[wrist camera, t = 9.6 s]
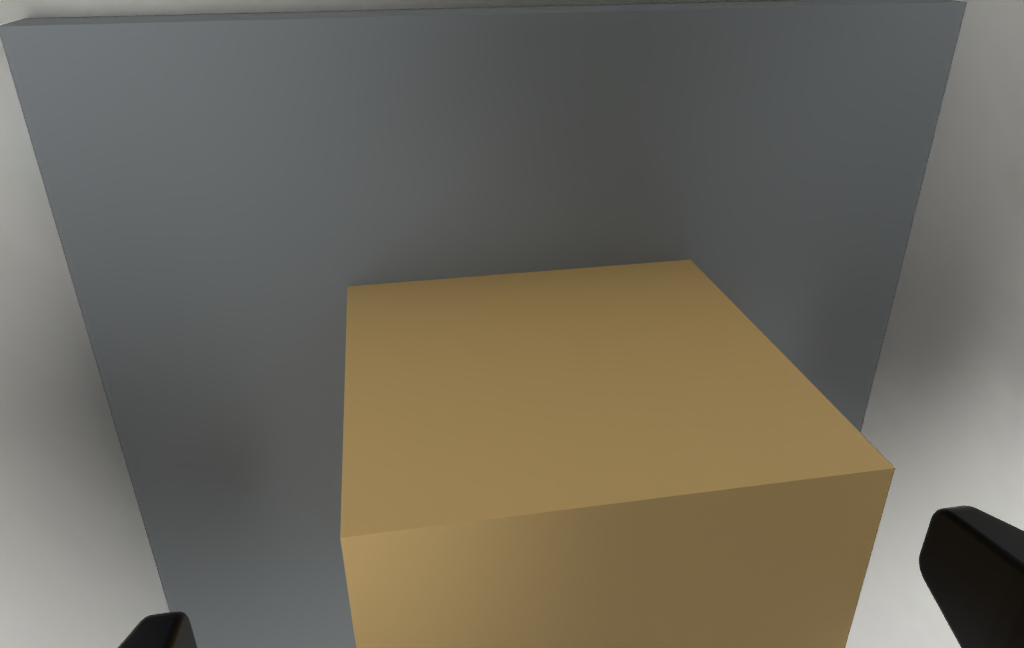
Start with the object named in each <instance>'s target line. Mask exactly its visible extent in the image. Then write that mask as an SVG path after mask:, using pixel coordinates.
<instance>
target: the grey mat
mask: <svg viewBox="0 0 1024 648" xmlns="http://www.w3.org/2000/svg"><path fill="white" fill-rule="evenodd" d="M966 3H967V2H961V1H953V0H787V1H745V2H703V3H661V4H619V5H576V6H534V7H492V8H450V9H408V10H366V11H323V12H281V13H239V14H197V15H155V16H113V17H70V18H28V19H22V20H18V21H15V22H11V23H8V24H5V25H1V26H0V37H1V40H2V44H3V47H4V50H5V54H6V57H7V61H8V64H9V67H10V71H11V74H12V77H13V81H14V84H15V88H16V91H17V94H18V98H19V101H20V105H21V108H22V111H23V115H24V118H25V122H26V125H27V128H28V132H29V135H30V139H31V142H32V145H33V149H34V152H35V156H36V159H37V162H38V166H39V169H40V173H41V176H42V179H43V183H44V186H45V190H46V193H47V196H48V200H49V203H50V206H51V210H52V213H53V217H54V220H55V223H56V227H57V230H58V234H59V237H60V240H61V244H62V247H63V251H64V254H65V257H66V261H67V264H68V268H69V271H70V274H71V278H72V281H73V285H74V288H75V291H76V295H77V298H78V302H79V305H80V308H81V312H82V315H83V319H84V322H85V325H86V329H87V332H88V335H89V339H90V342H91V346H92V349H93V352H94V356H95V359H96V363H97V366H98V369H99V373H100V376H101V380H102V383H103V386H104V390H105V393H106V397H107V400H108V403H109V407H110V410H111V414H112V417H113V420H114V424H115V427H116V431H117V434H118V437H119V441H120V444H121V448H122V451H123V454H124V458H125V461H126V464H127V468H128V471H129V475H130V478H131V481H132V485H133V488H134V492H135V495H136V498H137V502H138V505H139V509H140V512H141V515H142V519H143V522H144V526H145V529H146V532H147V536H148V539H149V543H150V546H151V549H152V553H153V556H154V560H155V563H156V566H157V570H158V573H159V577H160V580H161V583H162V587H163V590H164V593H165V597H166V600H167V604H168V607H169V610H170V612H178V611H180V612H184V613H186V615H187V616H188V618H189V620H190V623H191V626H192V630H193V634H194V637H195V641H196V644H197V648H356V643H355V636H354V629H353V623H352V616H351V609H350V602H349V595H348V588H347V581H346V574H345V567H344V560H343V554H342V547H341V540H340V529H341V494H342V459H343V424H344V389H345V354H346V319H347V286H359V285H372V284H384V283H397V282H410V281H423V280H436V279H448V278H461V277H474V276H487V275H500V274H512V273H525V272H538V271H551V270H564V269H576V268H589V267H602V266H615V265H628V264H640V263H653V262H666V261H679V260H691V261H692V262H693V263H694V264H695V265H696V266H697V267H698V268H699V269H700V270H701V271H702V272H703V273H704V274H705V275H706V276H707V277H708V278H709V279H710V280H711V281H712V282H713V283H714V284H715V285H716V286H717V287H718V288H719V289H720V290H721V291H722V292H723V293H724V294H725V295H726V296H727V297H728V298H729V299H730V300H731V301H732V302H733V303H734V304H735V305H736V306H737V307H738V309H739V310H740V311H741V312H742V313H743V314H744V315H745V316H746V317H747V318H748V319H749V320H750V321H751V322H752V323H753V324H754V325H755V326H756V327H757V328H758V329H759V330H760V331H761V332H762V333H763V334H764V335H765V336H766V337H767V338H768V339H769V340H770V341H771V342H772V343H773V344H774V345H775V346H776V347H777V348H778V349H779V350H780V351H781V352H782V353H783V354H784V355H785V356H786V357H787V358H788V359H789V361H790V362H791V363H792V364H793V365H794V366H795V367H796V368H797V369H798V370H799V371H800V372H801V373H802V374H803V375H804V376H805V377H806V378H807V379H808V380H809V381H810V382H811V383H812V384H813V385H814V386H815V387H816V388H817V389H818V390H819V391H820V392H821V393H822V394H823V395H824V396H825V397H826V398H827V399H828V400H829V401H830V402H831V403H832V404H833V405H834V406H835V407H836V408H837V409H838V410H839V411H840V413H841V414H842V415H843V416H844V417H845V418H846V419H847V420H848V421H849V422H850V423H851V424H852V425H853V426H854V427H855V428H856V429H857V430H858V431H859V432H861V428H862V424H863V420H864V416H865V412H866V408H867V404H868V400H869V396H870V392H871V388H872V383H873V379H874V375H875V371H876V367H877V363H878V359H879V355H880V351H881V347H882V343H883V339H884V335H885V331H886V327H887V323H888V319H889V315H890V311H891V307H892V303H893V298H894V294H895V290H896V286H897V282H898V278H899V274H900V270H901V266H902V262H903V258H904V254H905V250H906V246H907V242H908V238H909V234H910V230H911V226H912V222H913V218H914V213H915V209H916V205H917V201H918V197H919V193H920V189H921V185H922V181H923V177H924V173H925V169H926V165H927V161H928V157H929V153H930V149H931V145H932V141H933V137H934V133H935V128H936V124H937V120H938V116H939V112H940V108H941V104H942V100H943V96H944V92H945V88H946V84H947V80H948V76H949V72H950V68H951V64H952V60H953V56H954V52H955V48H956V43H957V39H958V35H959V31H960V27H961V23H962V19H963V15H964V11H965V7H966Z"/></svg>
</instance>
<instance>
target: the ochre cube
mask: <svg viewBox="0 0 1024 648" xmlns="http://www.w3.org/2000/svg"><path fill="white" fill-rule="evenodd" d="M894 470H895V468H894V467H893V466H892V465H891V463H890V462H889V461H888V460H887V459H886V458H885V457H884V456H883V455H882V454H881V453H880V452H879V451H878V450H877V449H876V448H875V447H874V446H873V445H872V444H871V443H870V442H869V441H868V440H867V439H866V438H865V437H864V436H863V435H862V434H861V433H860V432H859V431H858V430H857V429H856V428H855V427H854V426H853V425H852V424H851V423H850V422H849V421H848V420H847V419H846V418H845V417H844V416H843V415H842V414H841V413H840V411H839V410H838V409H837V408H836V407H835V406H834V405H833V404H832V403H831V402H830V401H829V400H828V399H827V398H826V397H825V396H824V395H823V394H822V393H821V392H820V391H819V390H818V389H817V388H816V387H815V386H814V385H813V384H812V383H811V382H810V381H809V380H808V379H807V378H806V377H805V376H804V375H803V374H802V373H801V372H800V371H799V370H798V369H797V368H796V367H795V366H794V365H793V364H792V363H791V362H790V361H789V359H788V358H787V357H786V356H785V355H784V354H783V353H782V352H781V351H780V350H779V349H778V348H777V347H776V346H775V345H774V344H773V343H772V342H771V341H770V340H769V339H768V338H767V337H766V336H765V335H764V334H763V333H762V332H761V331H760V330H759V329H758V328H757V327H756V326H755V325H754V324H753V323H752V322H751V321H750V320H749V319H748V318H747V317H746V316H745V315H744V314H743V313H742V312H741V311H740V310H739V309H738V307H737V306H736V305H735V304H734V303H733V302H732V301H731V300H730V299H729V298H728V297H727V296H726V295H725V294H724V293H723V292H722V291H721V290H720V289H719V288H718V287H717V286H716V285H715V284H714V283H713V282H712V281H711V280H710V279H709V278H708V277H707V276H706V275H705V274H704V273H703V272H702V271H701V270H700V269H699V268H698V267H697V266H696V265H695V264H694V263H693V262H692V261H691V260H679V261H666V262H653V263H640V264H628V265H615V266H602V267H589V268H576V269H564V270H551V271H538V272H525V273H512V274H500V275H487V276H474V277H461V278H448V279H436V280H423V281H410V282H397V283H384V284H372V285H359V286H347V319H346V354H345V389H344V424H343V459H342V494H341V529H340V540H341V547H342V554H343V560H344V567H345V574H346V581H347V588H348V595H349V602H350V609H351V616H352V623H353V629H354V636H355V643H356V648H845V646H846V642H847V639H848V635H849V632H850V628H851V624H852V621H853V617H854V614H855V610H856V606H857V603H858V599H859V596H860V592H861V588H862V585H863V581H864V578H865V574H866V570H867V567H868V563H869V560H870V556H871V552H872V549H873V545H874V542H875V538H876V534H877V531H878V527H879V524H880V520H881V516H882V513H883V509H884V506H885V502H886V499H887V495H888V491H889V488H890V484H891V481H892V477H893V473H894Z"/></svg>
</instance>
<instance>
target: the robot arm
mask: <svg viewBox="0 0 1024 648" xmlns="http://www.w3.org/2000/svg"><path fill="white" fill-rule="evenodd" d="M919 566H920V570H921V573H922V576H923V578H924V580H925V582H926V584H927V586H928V588H929V589H930V591H931V593H932V595H933V597H934V599H935V600H936V602H937V604H938V606H939V608H940V610H941V611H942V613H943V615H944V617H945V619H946V621H947V622H948V624H949V626H950V628H951V630H952V632H953V633H954V635H955V637H956V639H957V641H958V643H959V644H960V646H961V648H1024V531H1023V530H1020V529H1018V528H1016V527H1014V526H1012V525H1010V524H1008V523H1006V522H1004V521H1002V520H1000V519H997V518H995V517H993V516H991V515H989V514H987V513H985V512H983V511H981V510H979V509H976V508H974V507H971V506H958V507H950V508H943V509H939V510H937V511H936V512H935V513H934V514H933V516H932V518H931V521H930V524H929V527H928V530H927V533H926V537H925V540H924V543H923V546H922V549H921V552H920V556H919ZM118 648H197V644H196V641H195V637H194V634H193V630H192V626H191V623H190V620H189V618H188V616H187V615H186V613H184V612H180V611H178V612H170V613H163V614H156V615H150V616H147V617H145V618H144V619H143V620H141V621H140V622H139V624H138V625H137V626H136V627H135V628H134V629H133V631H132V632H131V633H130V634H129V635H128V636H127V638H126V639H125V640H124V641H123V642H122V643H121V645H120V646H119V647H118Z"/></svg>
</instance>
